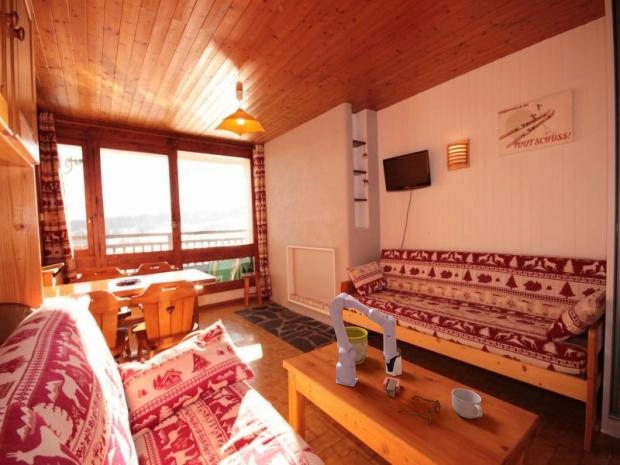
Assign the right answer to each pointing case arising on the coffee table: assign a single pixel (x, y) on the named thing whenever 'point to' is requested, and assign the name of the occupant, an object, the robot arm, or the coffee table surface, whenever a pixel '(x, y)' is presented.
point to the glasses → (427, 411)
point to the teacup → (466, 403)
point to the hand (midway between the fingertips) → (390, 371)
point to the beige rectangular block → (391, 388)
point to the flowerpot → (357, 342)
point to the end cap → (388, 383)
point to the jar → (396, 365)
